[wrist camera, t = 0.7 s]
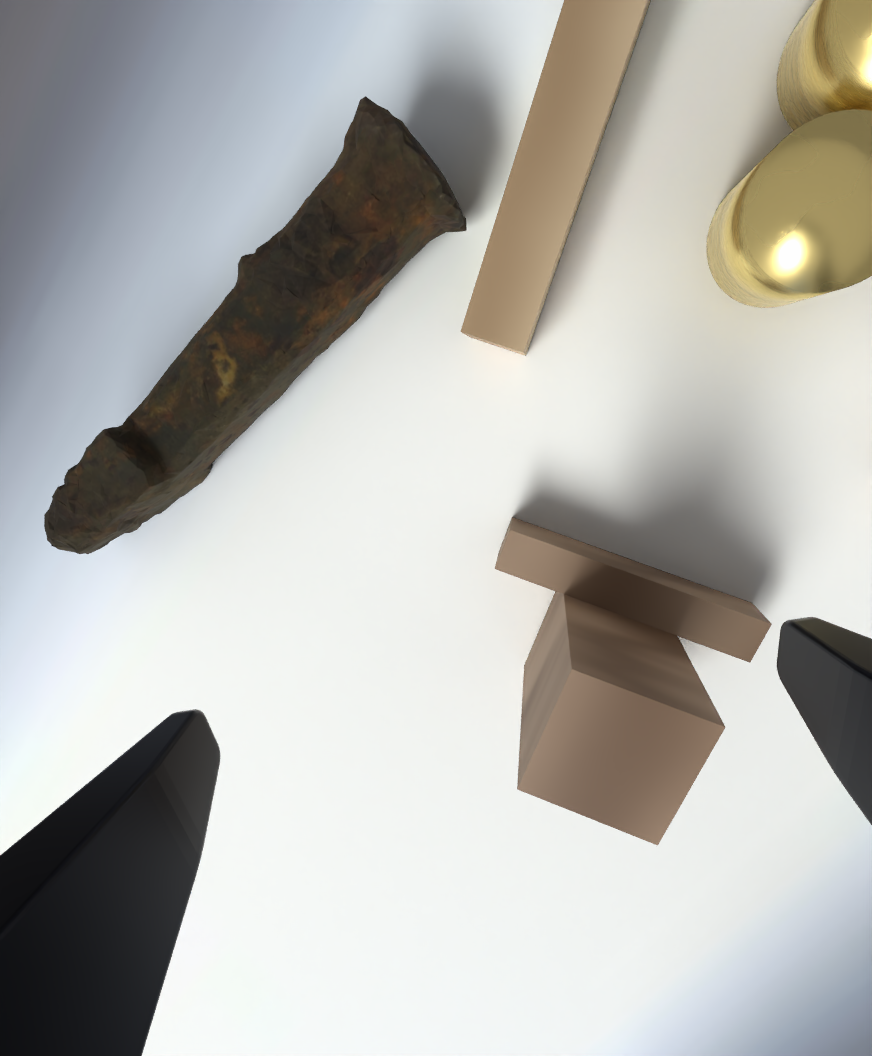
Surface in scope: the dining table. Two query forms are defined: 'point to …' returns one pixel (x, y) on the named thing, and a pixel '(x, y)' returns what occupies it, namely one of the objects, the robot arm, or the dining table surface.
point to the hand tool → (263, 331)
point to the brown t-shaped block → (618, 680)
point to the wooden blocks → (552, 167)
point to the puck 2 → (799, 216)
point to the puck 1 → (827, 62)
